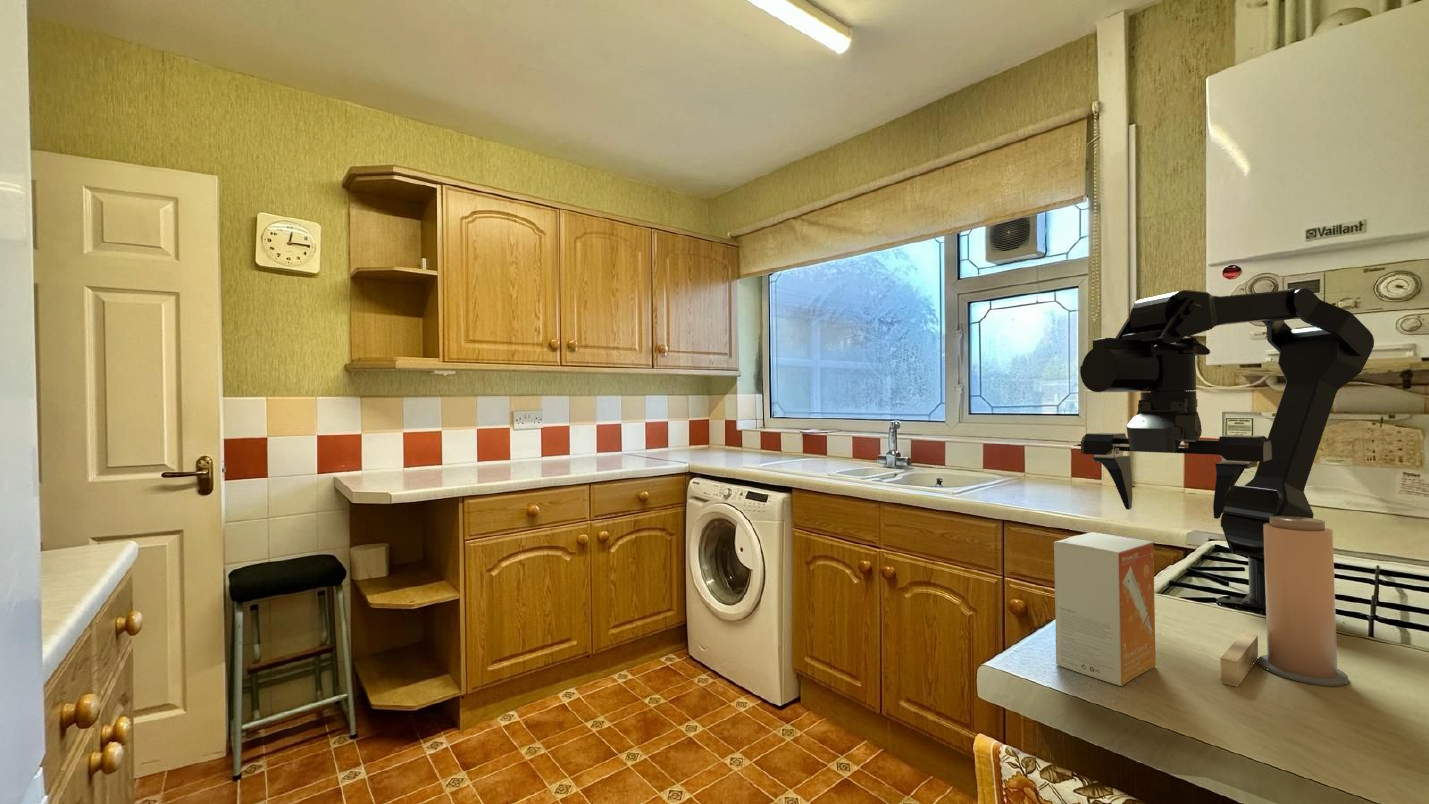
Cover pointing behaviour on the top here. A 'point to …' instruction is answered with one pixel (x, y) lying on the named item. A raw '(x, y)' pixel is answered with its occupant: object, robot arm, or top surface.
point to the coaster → (1335, 681)
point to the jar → (1300, 596)
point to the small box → (1105, 606)
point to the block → (1239, 659)
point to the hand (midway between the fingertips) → (1170, 513)
